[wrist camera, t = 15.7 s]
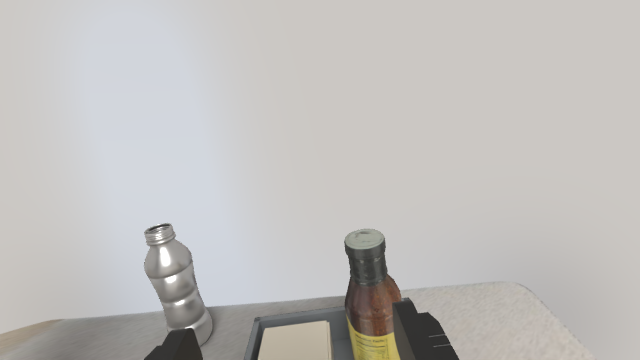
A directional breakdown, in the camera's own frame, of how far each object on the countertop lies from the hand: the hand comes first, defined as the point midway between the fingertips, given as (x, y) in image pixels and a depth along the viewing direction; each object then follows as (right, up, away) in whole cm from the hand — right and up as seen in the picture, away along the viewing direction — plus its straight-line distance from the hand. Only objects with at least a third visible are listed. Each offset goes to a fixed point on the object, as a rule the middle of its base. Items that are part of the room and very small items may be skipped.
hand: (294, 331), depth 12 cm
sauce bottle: (+9, -19, +24) cm, 32 cm away
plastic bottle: (-19, -20, +37) cm, 46 cm away
